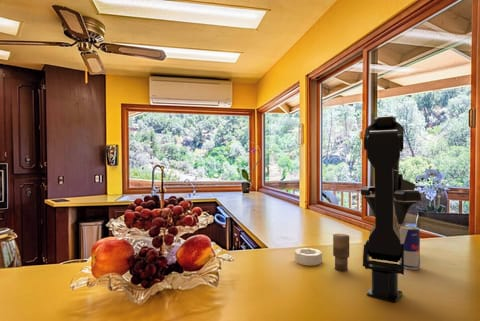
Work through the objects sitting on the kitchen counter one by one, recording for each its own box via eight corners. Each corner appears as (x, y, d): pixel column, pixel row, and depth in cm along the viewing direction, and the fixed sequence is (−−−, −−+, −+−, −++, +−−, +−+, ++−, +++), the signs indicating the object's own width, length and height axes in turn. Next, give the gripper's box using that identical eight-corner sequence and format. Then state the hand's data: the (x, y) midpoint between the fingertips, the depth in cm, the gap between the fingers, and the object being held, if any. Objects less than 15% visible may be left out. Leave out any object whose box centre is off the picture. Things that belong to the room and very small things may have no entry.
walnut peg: (345, 273, 88) (345, 238, 88) (330, 269, 91) (330, 235, 91) (351, 268, 91) (351, 235, 91) (337, 265, 94) (337, 232, 94)
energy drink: (418, 271, 89) (418, 230, 89) (398, 267, 92) (398, 228, 92) (421, 266, 93) (420, 227, 93) (401, 263, 96) (401, 224, 96)
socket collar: (313, 267, 93) (313, 257, 93) (290, 261, 98) (290, 252, 98) (325, 260, 99) (325, 251, 99) (303, 255, 104) (303, 246, 104)
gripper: (436, 171, 87) (436, 226, 87) (387, 170, 105) (387, 215, 104) (404, 171, 84) (404, 228, 83) (359, 170, 102) (359, 216, 101)
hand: (388, 221), depth 93 cm, fingers open, 9 cm apart
